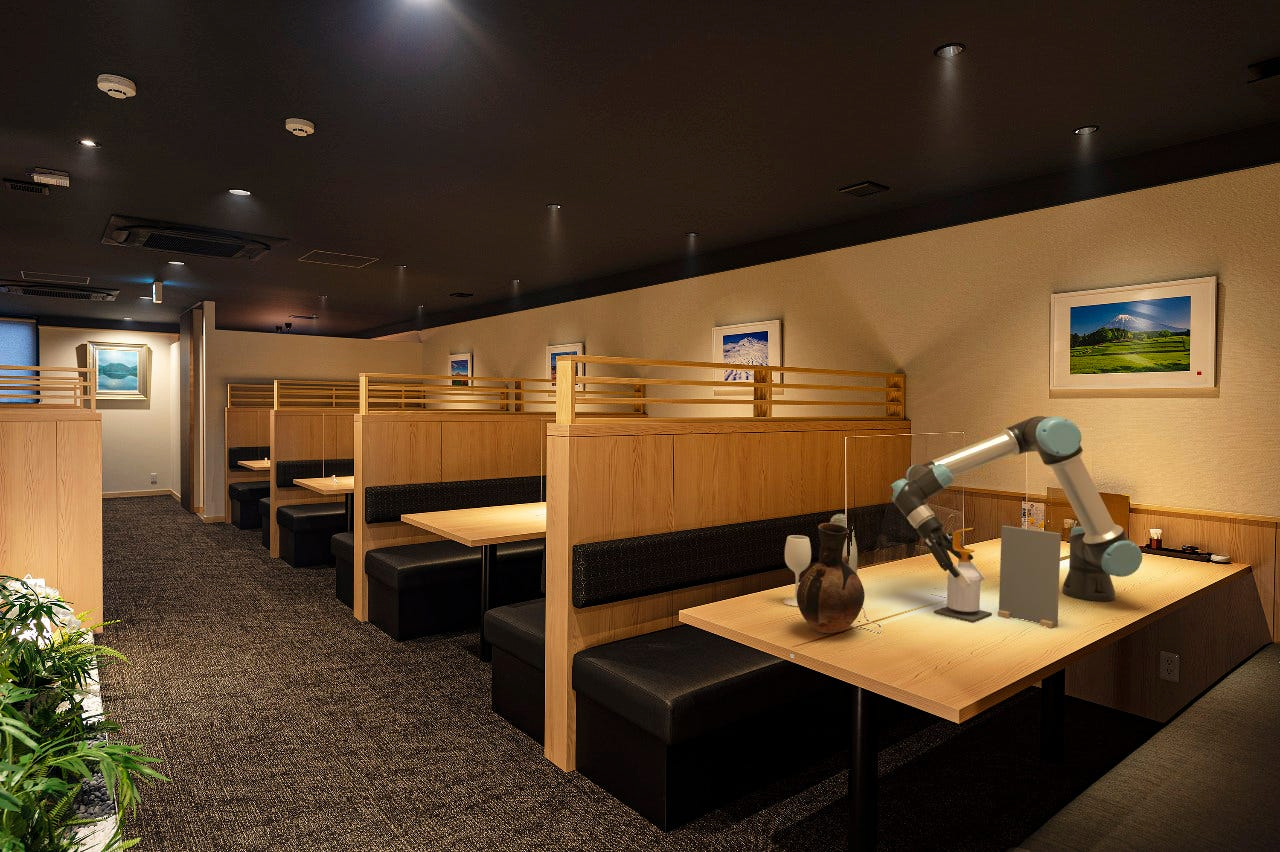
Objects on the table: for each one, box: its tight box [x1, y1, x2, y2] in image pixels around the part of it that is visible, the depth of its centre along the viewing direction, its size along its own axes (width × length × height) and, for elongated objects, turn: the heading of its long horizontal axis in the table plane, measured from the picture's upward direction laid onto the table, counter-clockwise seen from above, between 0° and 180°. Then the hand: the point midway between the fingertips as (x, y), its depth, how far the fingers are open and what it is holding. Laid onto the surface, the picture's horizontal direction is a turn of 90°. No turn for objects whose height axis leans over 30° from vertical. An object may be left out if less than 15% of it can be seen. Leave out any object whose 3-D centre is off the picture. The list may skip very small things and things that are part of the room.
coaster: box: [933, 605, 993, 624], centre depth 225 cm, size 12×12×1 cm
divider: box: [997, 525, 1062, 629], centre depth 219 cm, size 5×16×27 cm, turn 40°
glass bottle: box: [829, 513, 858, 575], centre depth 238 cm, size 10×10×28 cm
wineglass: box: [782, 534, 812, 607], centre depth 235 cm, size 9×9×21 cm
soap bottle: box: [946, 527, 981, 612], centre depth 225 cm, size 9×9×25 cm
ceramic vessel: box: [797, 522, 865, 634], centre depth 207 cm, size 21×18×30 cm
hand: (974, 583), depth 222 cm, fingers closed on soap bottle, 9 cm apart
